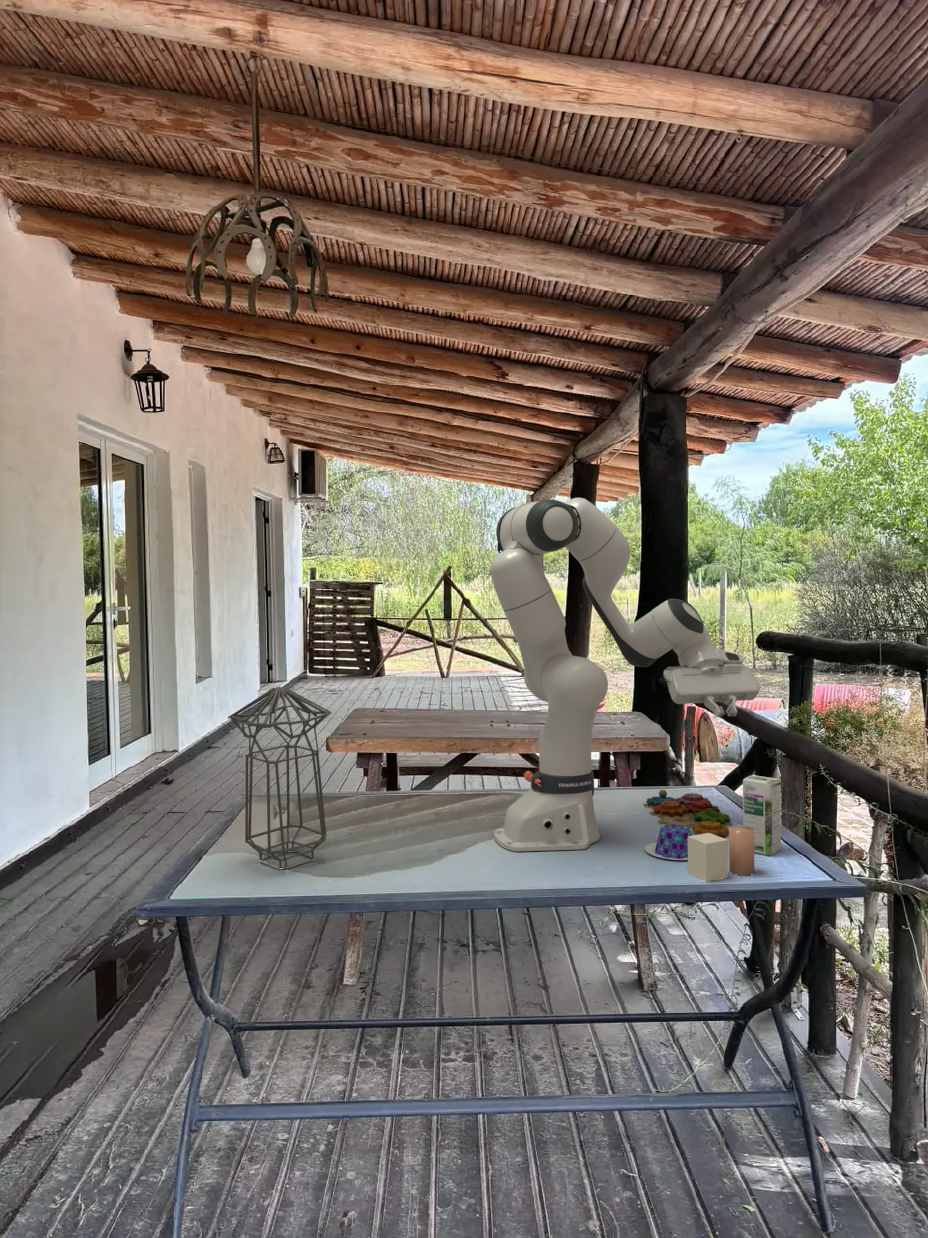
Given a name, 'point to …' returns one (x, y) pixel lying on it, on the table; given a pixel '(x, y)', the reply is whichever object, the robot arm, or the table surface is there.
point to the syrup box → (763, 812)
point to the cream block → (707, 857)
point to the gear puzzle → (689, 813)
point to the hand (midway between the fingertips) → (726, 715)
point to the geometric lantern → (274, 695)
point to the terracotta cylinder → (741, 850)
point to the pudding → (671, 842)
